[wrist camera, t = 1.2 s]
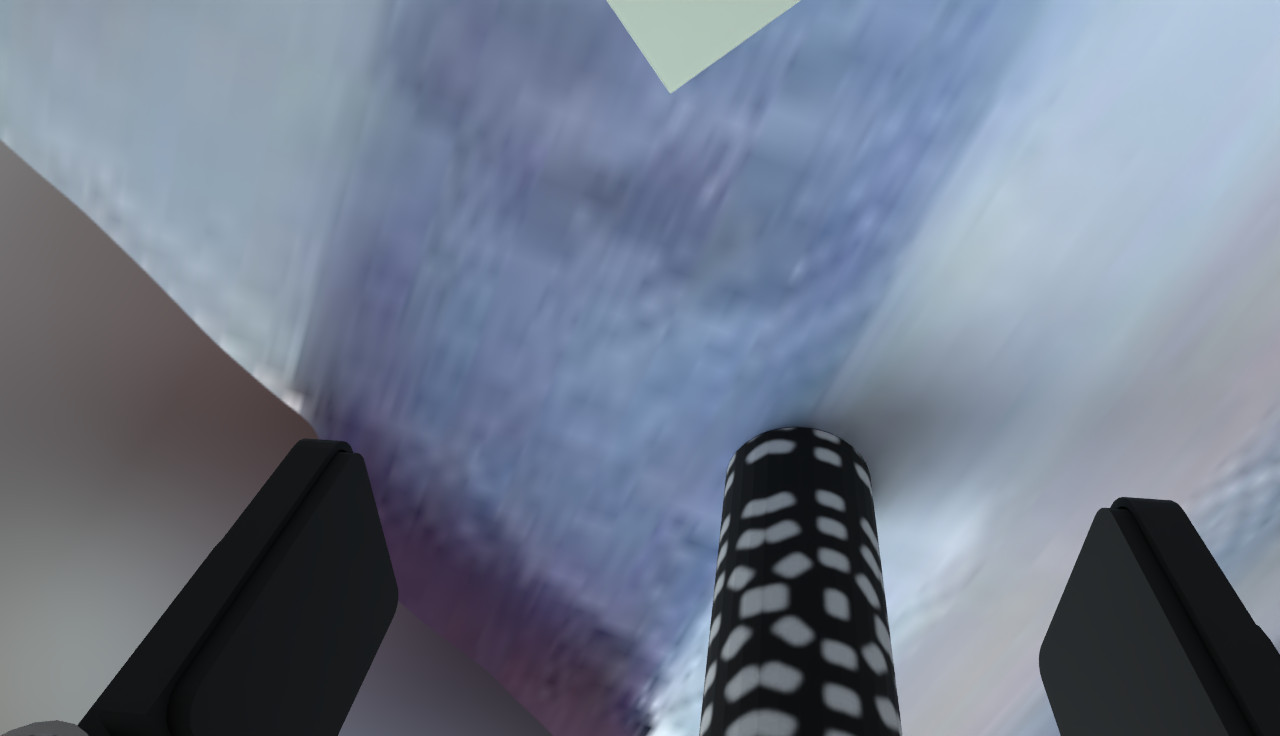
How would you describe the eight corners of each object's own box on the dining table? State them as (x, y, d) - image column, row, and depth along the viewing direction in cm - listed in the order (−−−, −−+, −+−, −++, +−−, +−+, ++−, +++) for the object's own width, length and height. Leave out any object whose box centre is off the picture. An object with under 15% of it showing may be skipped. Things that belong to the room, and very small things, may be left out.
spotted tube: (756, 407, 44) (735, 743, 28) (896, 455, 44) (958, 817, 28) (706, 508, 49) (662, 848, 32) (833, 552, 49) (854, 909, 33)
